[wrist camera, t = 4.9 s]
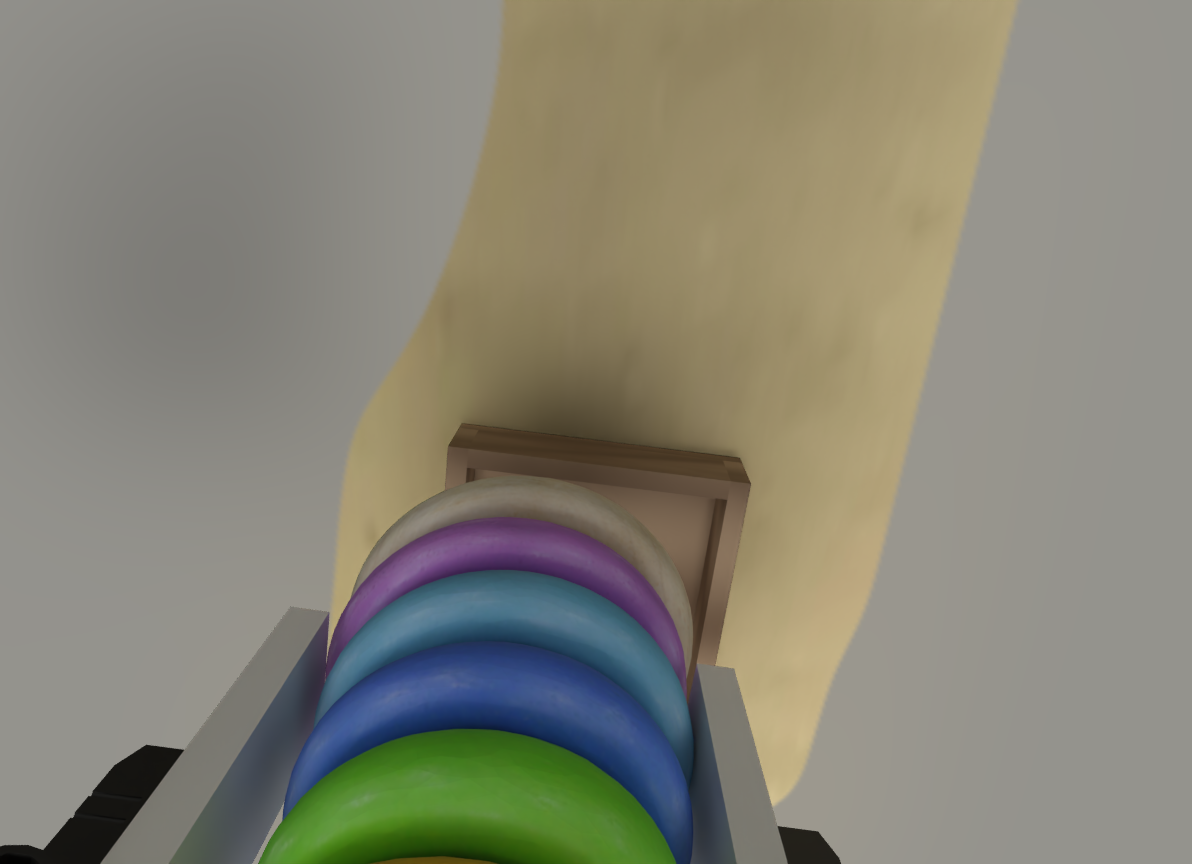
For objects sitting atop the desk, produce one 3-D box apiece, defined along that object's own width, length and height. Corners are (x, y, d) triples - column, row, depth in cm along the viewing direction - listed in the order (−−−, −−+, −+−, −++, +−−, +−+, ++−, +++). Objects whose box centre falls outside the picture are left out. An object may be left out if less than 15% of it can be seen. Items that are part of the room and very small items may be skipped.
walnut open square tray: (461, 423, 34) (448, 446, 31) (739, 458, 34) (750, 483, 32) (443, 663, 38) (429, 703, 35) (694, 693, 38) (701, 735, 35)
